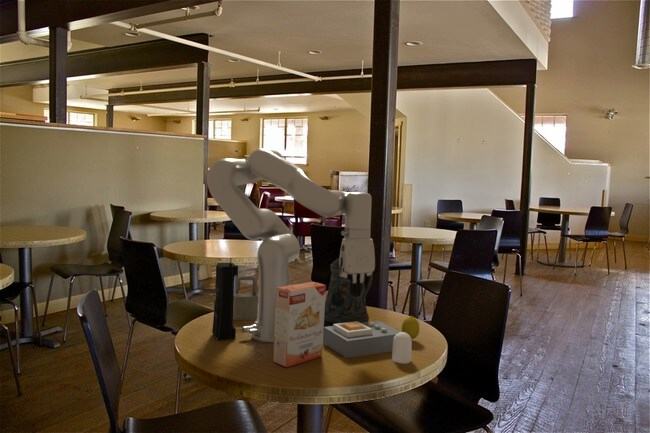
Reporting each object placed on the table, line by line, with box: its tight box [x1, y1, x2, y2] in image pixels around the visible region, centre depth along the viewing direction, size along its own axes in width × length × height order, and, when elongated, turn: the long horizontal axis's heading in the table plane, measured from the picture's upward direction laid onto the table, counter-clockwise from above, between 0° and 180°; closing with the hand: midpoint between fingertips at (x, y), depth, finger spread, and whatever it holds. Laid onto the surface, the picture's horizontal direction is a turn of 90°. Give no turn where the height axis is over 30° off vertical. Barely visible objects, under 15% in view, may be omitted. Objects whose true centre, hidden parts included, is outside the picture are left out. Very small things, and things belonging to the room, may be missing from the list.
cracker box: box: [272, 281, 327, 368], centre depth 145 cm, size 14×6×21 cm, turn 137°
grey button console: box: [323, 320, 402, 359], centre depth 159 cm, size 20×14×6 cm
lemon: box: [401, 315, 420, 340], centre depth 166 cm, size 6×6×8 cm
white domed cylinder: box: [391, 331, 413, 364], centre depth 149 cm, size 5×5×8 cm
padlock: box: [233, 275, 259, 321], centre depth 183 cm, size 4×8×15 cm, turn 110°
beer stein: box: [324, 256, 374, 327], centre depth 181 cm, size 16×19×25 cm
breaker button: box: [343, 322, 362, 331], centre depth 157 cm, size 4×4×3 cm
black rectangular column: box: [211, 257, 239, 341], centre depth 162 cm, size 8×6×25 cm
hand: (355, 295), depth 156 cm, fingers closed
